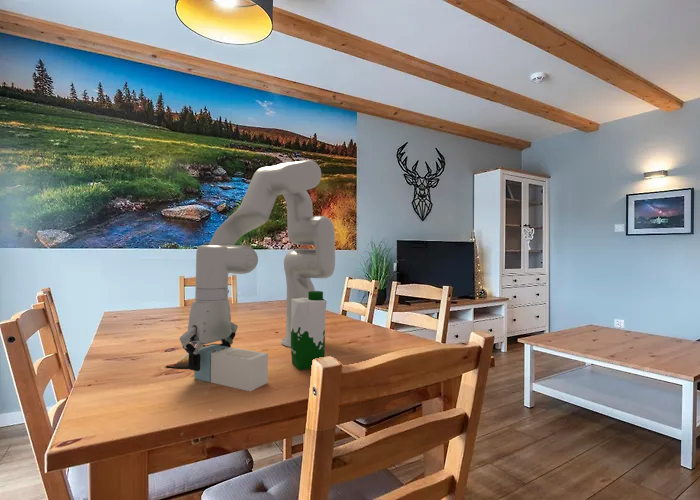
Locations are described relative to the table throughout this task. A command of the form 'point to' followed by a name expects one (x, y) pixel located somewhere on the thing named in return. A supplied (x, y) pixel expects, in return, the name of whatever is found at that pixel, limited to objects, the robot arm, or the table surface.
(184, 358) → the parchment
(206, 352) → the stub
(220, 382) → the block
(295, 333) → the milk carton
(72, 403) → the table surface
